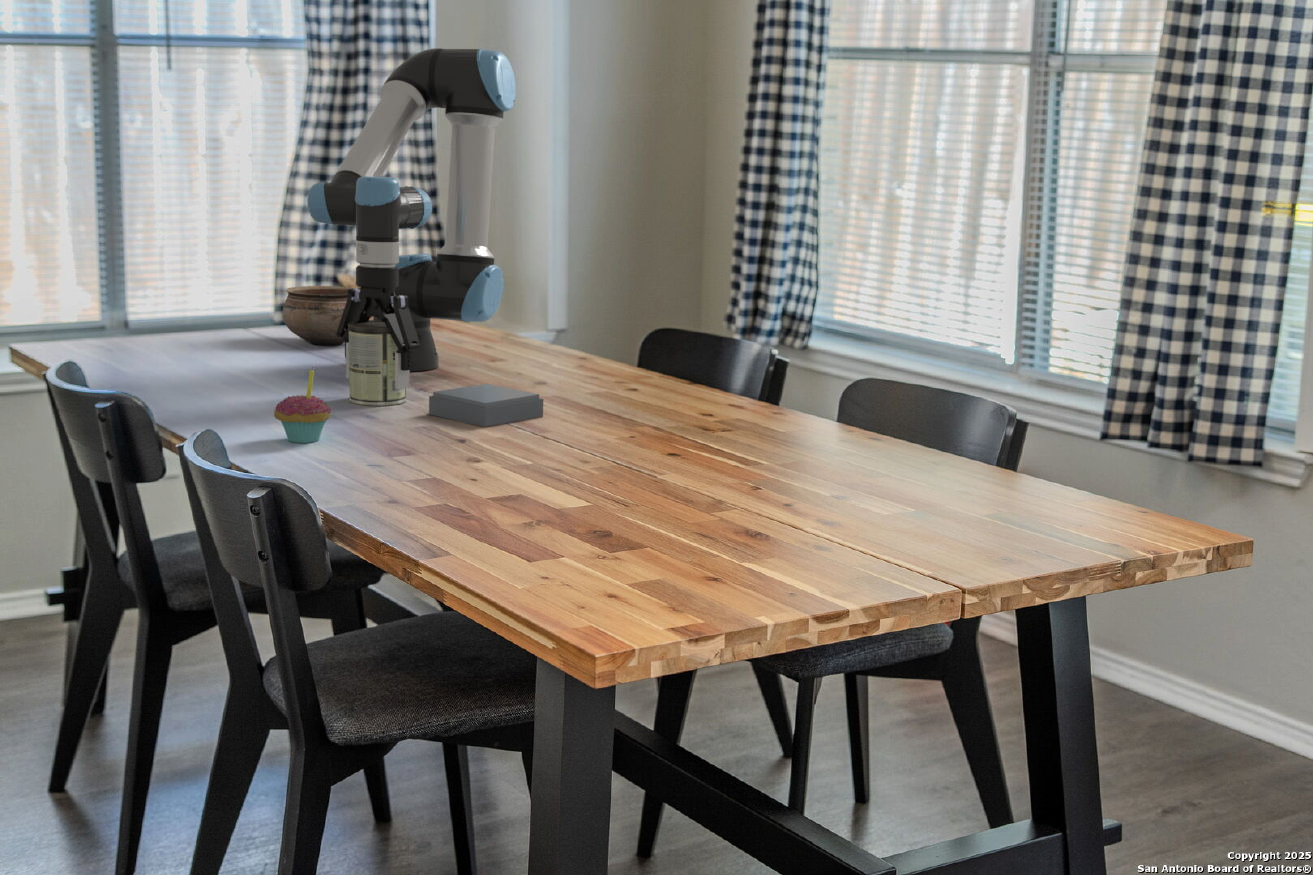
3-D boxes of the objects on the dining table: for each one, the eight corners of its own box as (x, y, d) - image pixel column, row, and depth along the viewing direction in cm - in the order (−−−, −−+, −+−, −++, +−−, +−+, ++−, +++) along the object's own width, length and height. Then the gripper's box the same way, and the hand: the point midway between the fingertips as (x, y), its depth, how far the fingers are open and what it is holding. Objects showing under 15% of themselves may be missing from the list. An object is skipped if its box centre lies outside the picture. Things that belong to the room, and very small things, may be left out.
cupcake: (341, 438, 217) (340, 363, 214) (311, 448, 209) (310, 371, 206) (294, 432, 219) (293, 358, 217) (263, 442, 212) (261, 365, 209)
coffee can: (358, 394, 253) (358, 318, 250) (413, 397, 252) (413, 321, 249) (340, 404, 243) (340, 325, 240) (397, 407, 242) (397, 329, 239)
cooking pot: (388, 350, 305) (388, 295, 303) (306, 354, 294) (306, 298, 292) (343, 334, 325) (343, 283, 322) (265, 338, 314) (264, 285, 312)
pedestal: (428, 414, 238) (429, 391, 237) (487, 404, 249) (487, 382, 248) (485, 427, 229) (485, 403, 228) (542, 416, 240) (543, 394, 239)
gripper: (316, 259, 247) (317, 375, 252) (407, 272, 232) (407, 395, 237) (349, 258, 253) (350, 371, 257) (440, 270, 238) (439, 390, 242)
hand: (377, 382), depth 247 cm, fingers open, 13 cm apart
